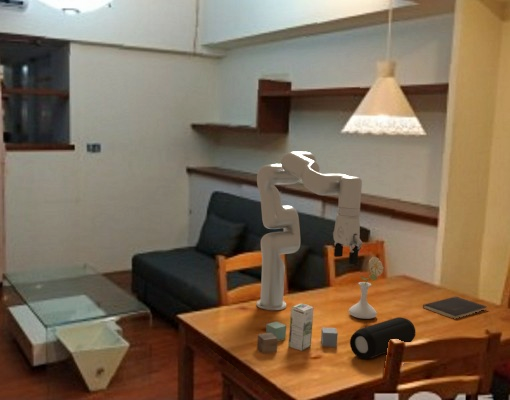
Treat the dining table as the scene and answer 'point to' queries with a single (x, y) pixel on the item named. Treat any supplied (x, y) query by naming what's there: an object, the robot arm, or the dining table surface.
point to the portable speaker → (381, 337)
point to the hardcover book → (454, 307)
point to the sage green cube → (276, 330)
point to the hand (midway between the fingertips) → (345, 259)
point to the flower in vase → (362, 306)
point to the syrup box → (301, 326)
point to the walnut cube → (267, 343)
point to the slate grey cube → (329, 337)
